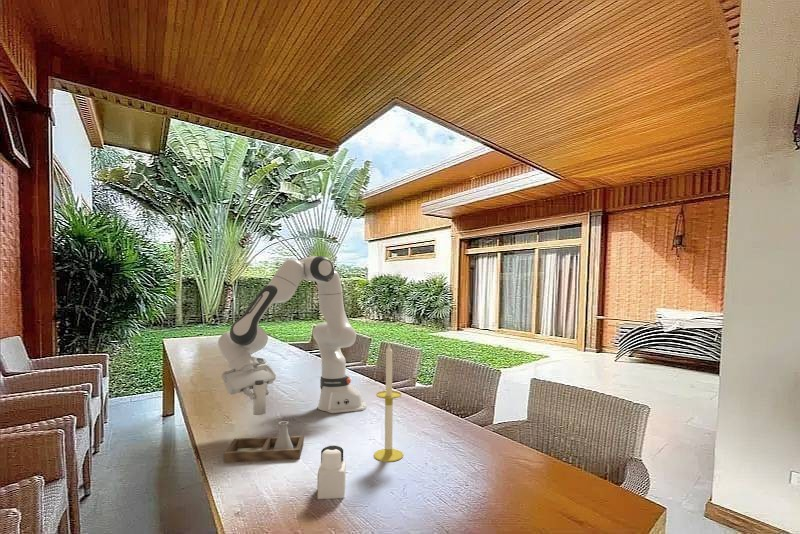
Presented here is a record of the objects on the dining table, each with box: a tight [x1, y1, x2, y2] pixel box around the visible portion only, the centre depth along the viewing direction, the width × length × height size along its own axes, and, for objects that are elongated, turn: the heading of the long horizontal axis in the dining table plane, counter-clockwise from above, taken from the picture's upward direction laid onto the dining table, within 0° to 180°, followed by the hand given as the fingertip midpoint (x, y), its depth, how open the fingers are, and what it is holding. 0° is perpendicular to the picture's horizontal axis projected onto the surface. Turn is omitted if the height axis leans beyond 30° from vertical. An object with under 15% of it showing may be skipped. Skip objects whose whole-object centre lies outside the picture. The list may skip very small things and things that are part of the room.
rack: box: [223, 435, 305, 464], centre depth 138 cm, size 24×12×3 cm, turn 97°
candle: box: [373, 344, 404, 463], centre depth 138 cm, size 10×10×38 cm
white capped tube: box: [252, 380, 267, 416], centre depth 154 cm, size 4×4×12 cm
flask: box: [272, 420, 295, 450], centre depth 139 cm, size 7×7×10 cm
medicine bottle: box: [316, 445, 347, 500], centre depth 113 cm, size 7×7×12 cm
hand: (260, 396), depth 154 cm, fingers closed on white capped tube, 4 cm apart
